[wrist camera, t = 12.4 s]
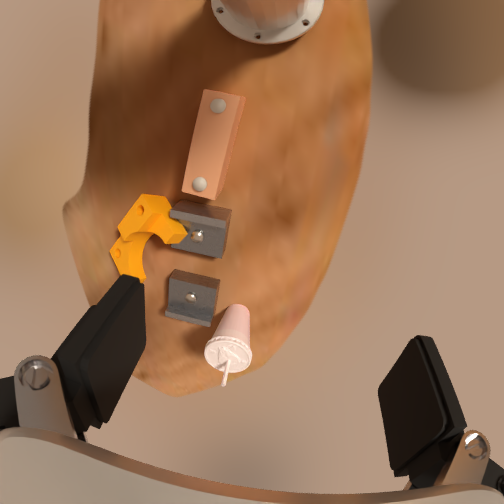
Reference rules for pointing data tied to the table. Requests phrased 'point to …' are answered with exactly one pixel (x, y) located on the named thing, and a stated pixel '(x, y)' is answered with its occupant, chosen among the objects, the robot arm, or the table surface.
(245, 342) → the pink drink cup
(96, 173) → the table surface
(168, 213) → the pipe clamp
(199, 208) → the book ends
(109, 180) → the table surface
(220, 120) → the peach two-stud bar
